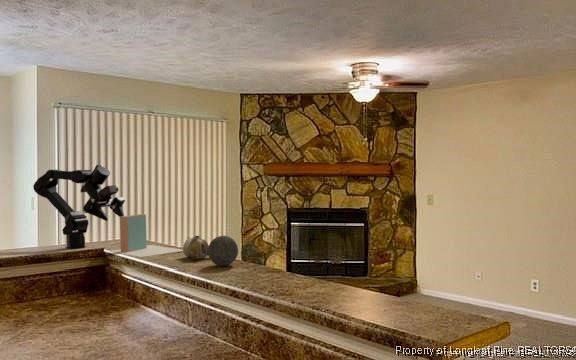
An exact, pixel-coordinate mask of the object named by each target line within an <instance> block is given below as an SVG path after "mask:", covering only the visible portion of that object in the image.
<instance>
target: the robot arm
mask: <svg viewBox="0 0 576 360" xmlns="http://www.w3.org/2000/svg"><path fill="white" fill-rule="evenodd" d="M110 175H111V172H110V170H109V169H107V167H104V166H102V165H101V164H96V165H95V167H94V169H93V171H92V170H90V169H75V170H59V169H49V170H47V171H46V172H45V173H44V174H43V175H41V176H40V177H38V178H37V180H36V181H35V182H34V183H33V191H34V192H35V193H36V194H37V195H39V196H40V197H42V198H45V199H47V201H49V203H50V204H51V205H52V206H53V207H54V208H55V210H57V212H59V214H60V215H61V216H62V217H63V218H64V224H65V226H64V227H63V228H62V231H61V232H62V233H63V235H64V236H65V235H66V246H65V249H69V250H75V249H81V248H86V239H85V234H86V233H87V231H88V229H89V227H88V226H89V219H88V218H87V215H85V214H89V215H92V216H95V217H97V218H99V219H101V220H103V221H105V222H107V221H108V220H109V218H108V217H107V214H106V213H105V212H104V210H103V208H110V210H111V211H112V213H114V214H115V215H116V216H117V217H119V218H120V217H121V216H125V214H124V210H123V205H124V203H125V202H126V199H125V198H124V197H123V196H117V197H116V196H115V197H114V198H113V195H116V194H118V192H119V187H118V186H117V185H116V184H112V185H106V186H105V187H103V188H101V186H102V185H104V183H105V182H106V180H107V179H108V178H109V176H110ZM59 180H66V181H67V180H69V181H71V182H72V183H74V184H83V185H82V186H80V187H81V188H80V193H86V194H87V195H88V196H89V199H87V201H86V202H85V204H84V205H83V207H82V209H83V211H82V210H78V211H77V210H76V211H75V210H74V209H73V208H72V207H71V206H70V205H69V203H68V202H67V201H66V200H65V199H64V198H63V197H62V196H61V195H60V194H59V192H58V191H57V190H58V189H57V186H58V184H59ZM112 198H113V199H112ZM111 199H112V200H111ZM84 213H85V214H84Z"/></svg>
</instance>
